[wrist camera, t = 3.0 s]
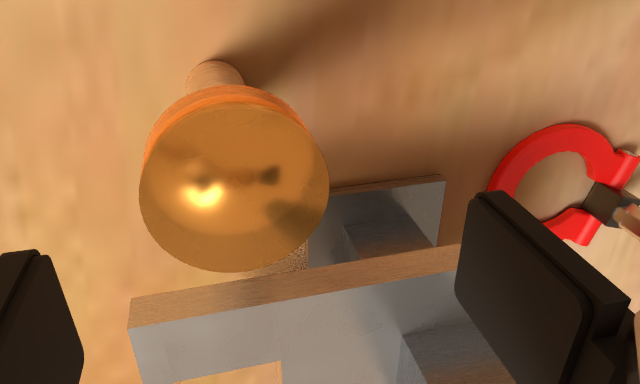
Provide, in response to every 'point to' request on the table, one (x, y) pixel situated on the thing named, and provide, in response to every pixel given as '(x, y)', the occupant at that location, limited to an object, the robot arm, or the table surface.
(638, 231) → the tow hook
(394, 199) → the grey cross bracket
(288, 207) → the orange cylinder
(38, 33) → the table surface
